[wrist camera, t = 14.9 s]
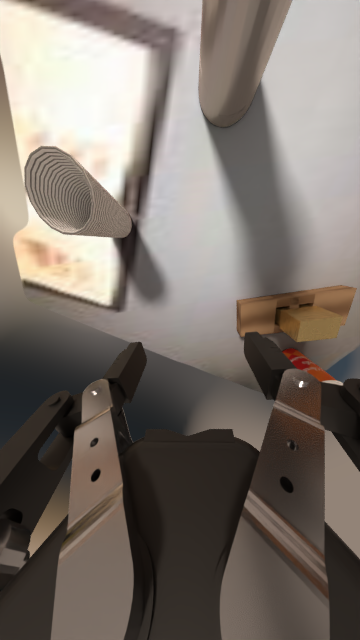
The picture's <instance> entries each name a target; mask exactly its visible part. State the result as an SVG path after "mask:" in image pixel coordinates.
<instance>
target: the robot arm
mask: <svg viewBox="0 0 360 640" xmlns="http://www.w3.org/2000/svg"><path fill="white" fill-rule="evenodd" d="M291 3H292V0H203V1H202V22H201V43H200V63H199V86H198V91H199V100H200V105H201V108H202V111H203V113H204V115H205V116H206V118H207V119H208V120H209V121H210V122H211V123H212V124H214V125H216V126H219V127H227V126H230V125H232V124H235V123H236V122H237V121H238V120H240V119H241V118H242V116H243V115H244V114H245V113H246V111H247V110H248V108H249V107H250V105H251V102H252V100H253V98H254V95H255V93H256V90H257V88H258V85H259V83H260V80H261V78H262V75H263V73H264V71H265V68H266V66H267V63H268V61H269V58H270V56H271V53H272V51H273V48H274V46H275V43H276V41H277V38H278V35H279V33H280V30H281V28H282V25H283V23H284V20H285V18H286V15H287V13H288V10H289V8H290V5H291ZM244 354H245V357H246V360H247V362H248V364H249V366H250V368H251V369H252V371H253V373H254V375H255V377H256V379H257V381H258V383H259V385H260V387H261V389H262V391H263V393H264V395H265V397H266V399H267V400H271V399H274V401H275V403H274V406H273V409H272V412H271V416H270V419H269V423H268V426H267V430H266V433H265V437H264V440H263V443H262V447H261V450H260V452H259V451H258V450H257V449H256V448H254V447H253V446H252V445H250V444H249V443H247V442H245V441H243V440H241V439H239V438H236V437H234V435H233V431H232V429H209V430H206V431H203V432H200V433H196V434H193V435H190V436H185V435H182V434H179V433H176V432H173V431H170V430H167V429H147V430H146V433H145V437H143V438H141V439H139V440H137V441H135V442H134V443H133V442H132V440H131V437H130V434H129V430H128V426H127V422H126V418H125V415H124V411H123V409H122V406H123V404H124V403H131V401H132V398H133V396H134V393H135V391H136V388H137V386H138V383H139V381H140V378H141V376H142V373H143V371H144V368H145V366H146V362H147V358H146V355H145V352H144V349H143V346H142V343H141V342H134V343H130V344H129V346H128V347H127V349H125V350H124V351H122V352H121V353H120V354H119V355H118V357H117V358H116V360H115V361H114V363H113V364H112V366H111V367H110V368H109V370H108V371H107V373H106V374H105V375H104V377H103V378H102V379H101V380H97V381H95V382H93V383H92V384H90V385H89V386H88V387H87V388H86V389H85V391H84V392H83V393H79V394H76V395H73V396H71V395H70V393H69V392H68V391H61V392H58V393H56V394H55V395H53V396H51V397H50V398H49V399H47V400H46V401H45V402H44V403H43V404H42V405H41V406H40V407H39V408H38V410H37V411H36V412H35V413H34V414H33V415H32V416H31V417H30V418H29V419H28V420H27V421H26V423H25V424H24V425H23V426H22V427H21V428H20V429H19V430H18V431H17V432H16V433H15V435H14V436H13V437H12V438H11V439H10V440H9V441H8V442H7V443H6V444H5V445H4V446H3V448H2V449H1V450H0V640H360V559H359V558H358V557H357V556H356V555H355V553H354V552H353V551H352V550H351V549H350V548H349V547H348V546H347V545H346V544H345V543H344V542H343V541H342V539H341V538H340V537H339V536H338V535H337V534H336V533H335V532H334V531H333V530H332V529H331V528H330V526H328V525H327V523H326V522H325V521H324V510H325V509H324V507H325V505H324V504H325V503H324V502H325V497H324V496H325V489H324V488H325V487H324V486H325V485H324V484H325V474H324V473H325V430H329V431H331V432H332V433H333V435H334V436H335V438H336V439H337V440H338V442H339V443H340V445H341V446H342V448H343V449H344V450H345V452H346V453H347V455H348V456H349V457H350V459H351V460H352V462H353V463H354V464H355V466H356V467H357V469H358V470H359V471H360V379H347V380H345V382H344V384H343V386H342V385H337V384H331V383H325V382H321V381H318V379H317V378H316V377H314V376H313V375H311V374H310V373H308V372H306V371H303V370H299V369H297V368H296V367H295V365H294V364H293V363H292V362H291V361H290V360H289V359H288V358H287V356H286V355H285V354H284V353H283V352H282V351H281V350H280V349H279V348H278V346H277V345H276V344H275V343H274V342H273V341H271V340H269V339H268V338H262V337H261V335H260V334H259V333H258V332H257V331H255V332H246V333H245V338H244ZM54 429H56V430H57V431H58V432H59V434H58V435H57V437H56V438H55V439H54V441H53V442H52V444H51V445H50V447H49V448H48V450H47V451H46V453H45V454H44V456H43V457H42V458H41V460H40V461H39V460H38V453H39V450H40V448H41V447H42V446H43V444H44V443H45V441H46V440H47V439H48V437H49V436H50V434H51V433H52V432H53V430H54ZM72 457H73V459H72ZM71 459H72V473H71V488H70V502H69V514H68V515H67V516H66V517H65V519H63V521H62V522H61V523H60V524H59V526H58V527H57V528H56V529H55V530H54V531H53V532H52V533H51V534H50V536H49V537H48V538H47V539H46V540H45V541H44V542H43V544H42V545H41V546H40V547H39V548H38V550H37V551H36V552H35V553H34V554H33V555H32V556H31V557H30V552H29V551H28V547H29V543H30V538H31V534H32V532H33V530H34V528H35V526H36V525H37V523H38V521H39V519H40V517H41V515H42V513H43V512H44V510H45V508H46V506H47V504H48V502H49V500H50V499H51V497H52V495H53V493H54V491H55V489H56V487H57V485H58V484H59V482H60V480H61V478H62V476H63V474H64V472H65V470H66V469H67V467H68V465H69V463H70V461H71ZM29 557H30V558H29Z"/></svg>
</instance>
